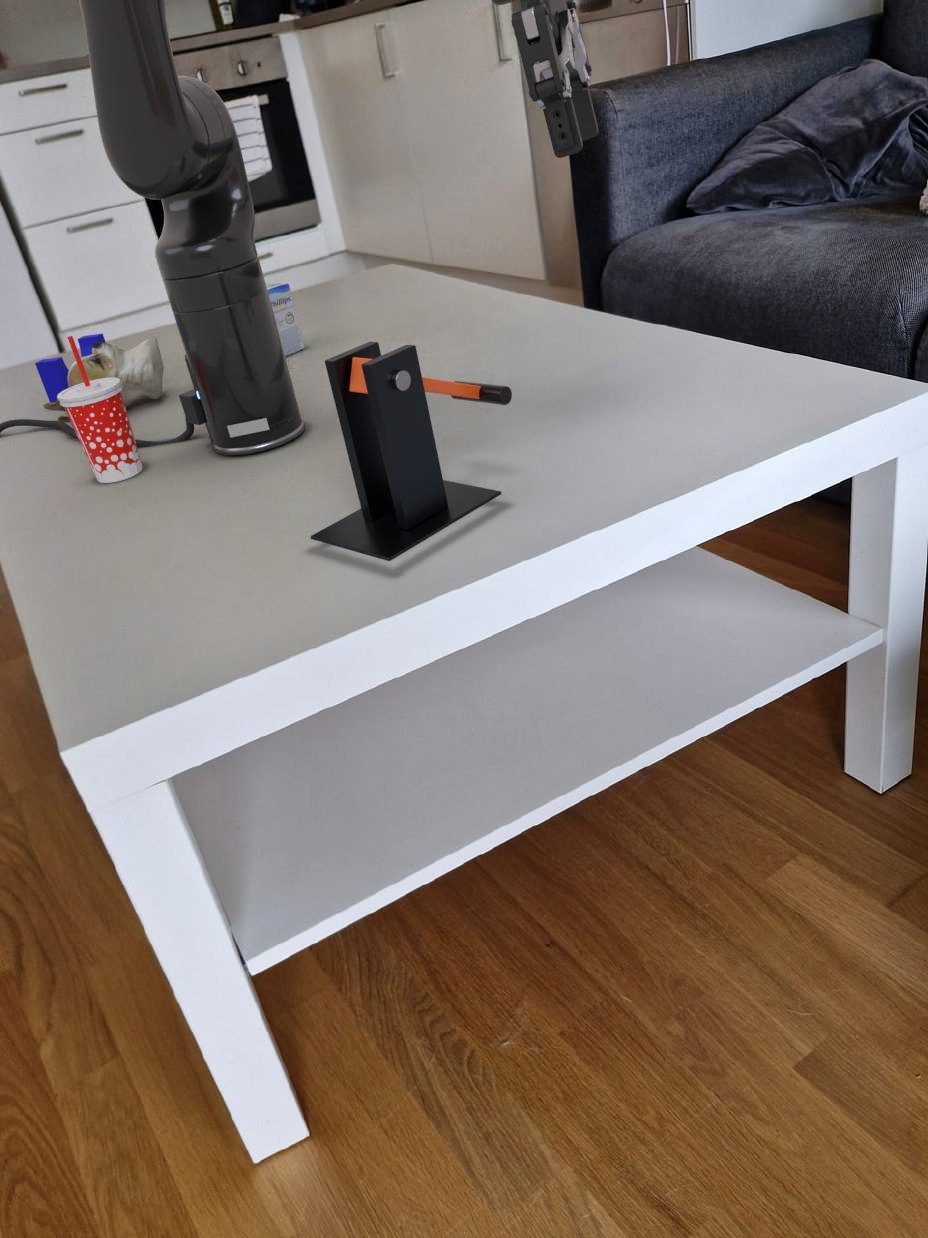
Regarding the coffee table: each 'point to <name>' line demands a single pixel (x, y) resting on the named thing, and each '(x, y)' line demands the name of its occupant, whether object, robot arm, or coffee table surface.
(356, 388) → the clamp lever
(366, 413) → the black lever stand
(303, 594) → the coffee table surface
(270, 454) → the coffee table surface
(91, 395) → the beverage cup
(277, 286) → the medicine box
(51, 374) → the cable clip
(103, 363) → the ceramic sculpture
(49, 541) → the coffee table surface
